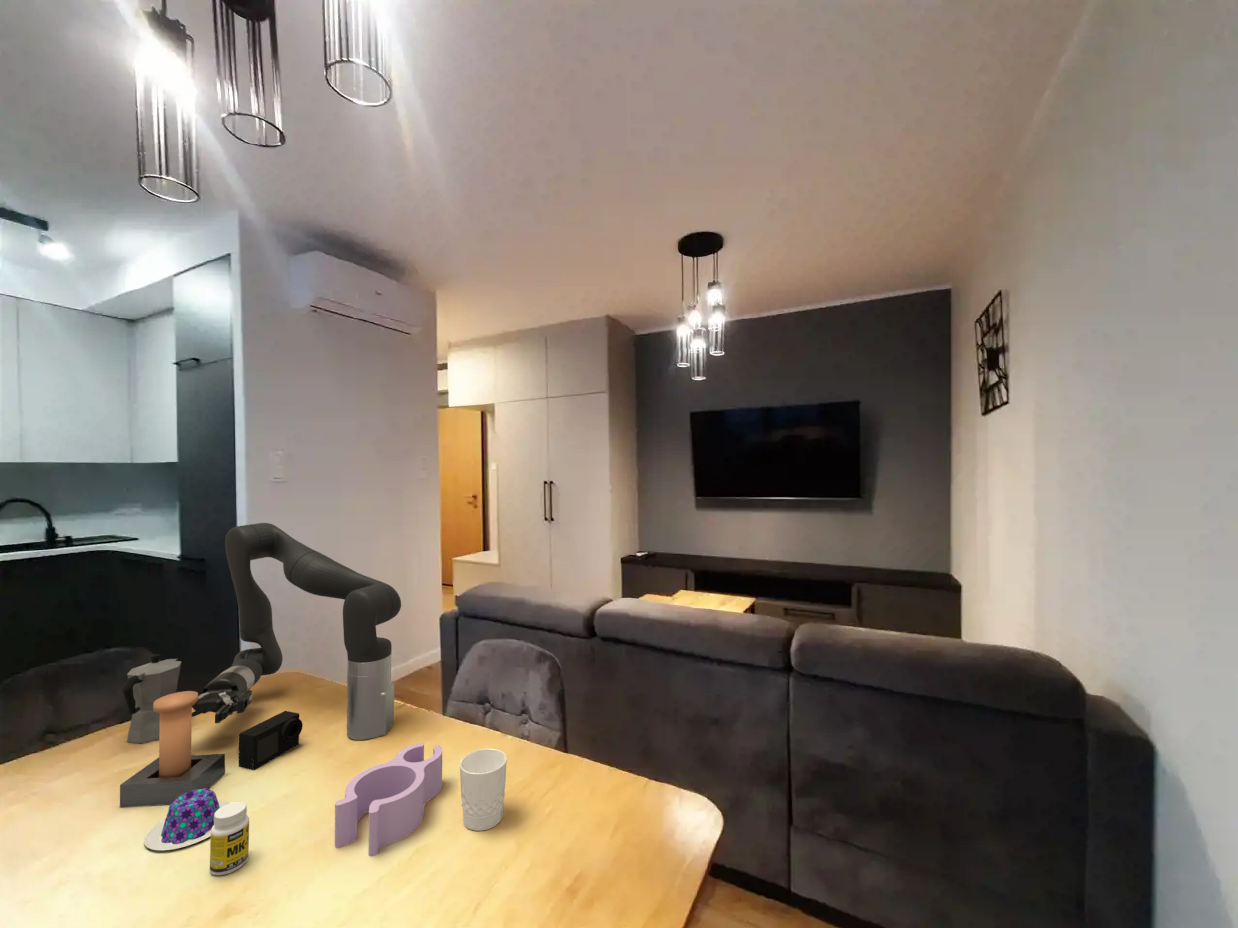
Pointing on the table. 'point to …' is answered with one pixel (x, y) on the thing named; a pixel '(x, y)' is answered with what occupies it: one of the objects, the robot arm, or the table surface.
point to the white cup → (483, 788)
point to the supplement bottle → (229, 838)
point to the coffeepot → (149, 696)
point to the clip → (389, 798)
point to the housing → (170, 782)
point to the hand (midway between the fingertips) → (192, 721)
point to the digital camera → (269, 739)
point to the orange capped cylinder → (175, 732)
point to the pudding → (185, 820)
